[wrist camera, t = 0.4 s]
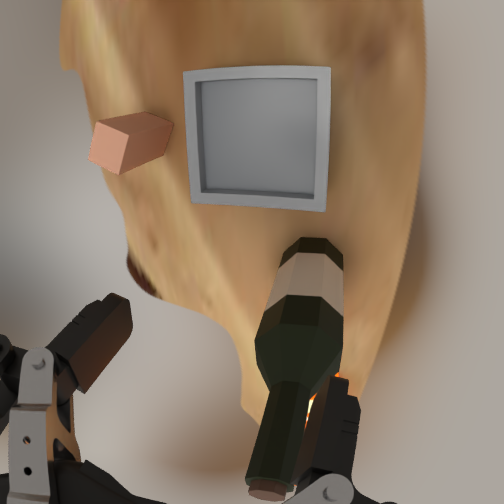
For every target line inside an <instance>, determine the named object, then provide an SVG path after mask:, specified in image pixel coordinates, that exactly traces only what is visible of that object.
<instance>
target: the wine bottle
mask: <svg viewBox="0 0 504 504" xmlns="http://www.w3.org/2000/svg"><path fill="white" fill-rule="evenodd" d="M343 310H344V293H343V255H342V254H341V253H340V252H339V251H338V250H337V249H336V248H335V247H334V246H333V245H332V244H331V243H330V242H329V241H328V240H327V239H326V238H305V237H301V238H300V239H298V240H297V241H296V242H295V243H294V244H293V245H292V246H291V247H289V248H288V249H287V250H286V251H285V252H284V253H283V256H282V260H281V263H280V266H279V269H278V272H277V275H276V278H275V281H274V284H273V287H272V290H271V293H270V296H269V299H268V302H267V305H266V308H265V311H264V314H263V317H262V320H261V323H260V326H259V329H258V331H257V334H256V337H255V340H254V341H255V351H256V362H257V366H258V368H259V370H260V372H261V374H262V377H263V379H264V381H265V383H266V385H267V387H268V389H269V391H270V393H269V396H268V400H267V404H266V407H265V411H264V415H263V418H262V422H261V425H260V429H259V433H258V436H257V439H256V443H255V446H254V450H253V453H252V457H251V460H250V463H249V467H248V470H247V473H246V476H245V481H246V484H247V485H249V486H250V487H249V490H248V492H249V495H251V496H253V497H256V498H258V499H261V500H268V501H284V500H285V495H286V492H292V491H293V489H294V485H292V484H290V481H291V478H292V474H293V471H294V468H295V464H296V461H297V457H298V454H299V450H300V447H301V443H302V439H303V435H304V432H305V427H306V421H307V415H308V408H309V402H310V399H311V398H312V397H313V396H314V395H315V394H316V393H317V392H318V391H319V389H320V387H321V386H322V384H323V383H324V381H325V379H326V378H327V376H328V375H329V374H330V375H333V376H335V375H336V374H337V373H338V372H339V368H340V362H341V356H342V349H343Z"/></svg>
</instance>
